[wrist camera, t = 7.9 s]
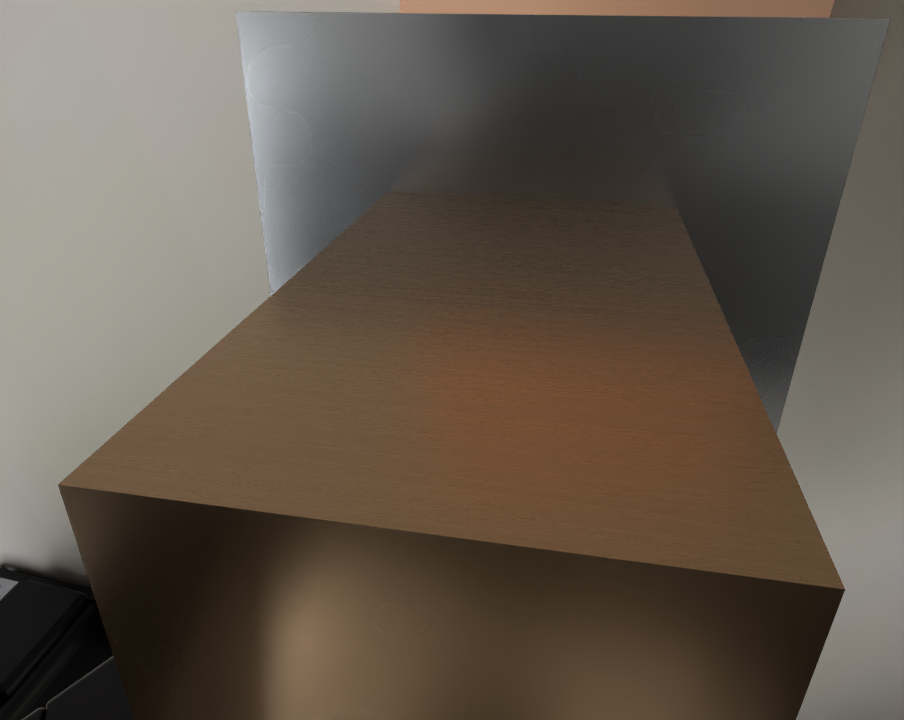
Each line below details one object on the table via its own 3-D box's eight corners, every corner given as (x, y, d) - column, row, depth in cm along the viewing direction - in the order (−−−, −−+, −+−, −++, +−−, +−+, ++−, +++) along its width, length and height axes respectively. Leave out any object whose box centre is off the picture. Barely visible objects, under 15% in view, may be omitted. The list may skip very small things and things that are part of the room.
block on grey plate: (681, 718, 13) (759, 1318, 7) (332, 660, 14) (144, 1137, 8) (861, 18, 7) (1945, 38, 1) (264, 11, 9) (-487, 9, 3)
